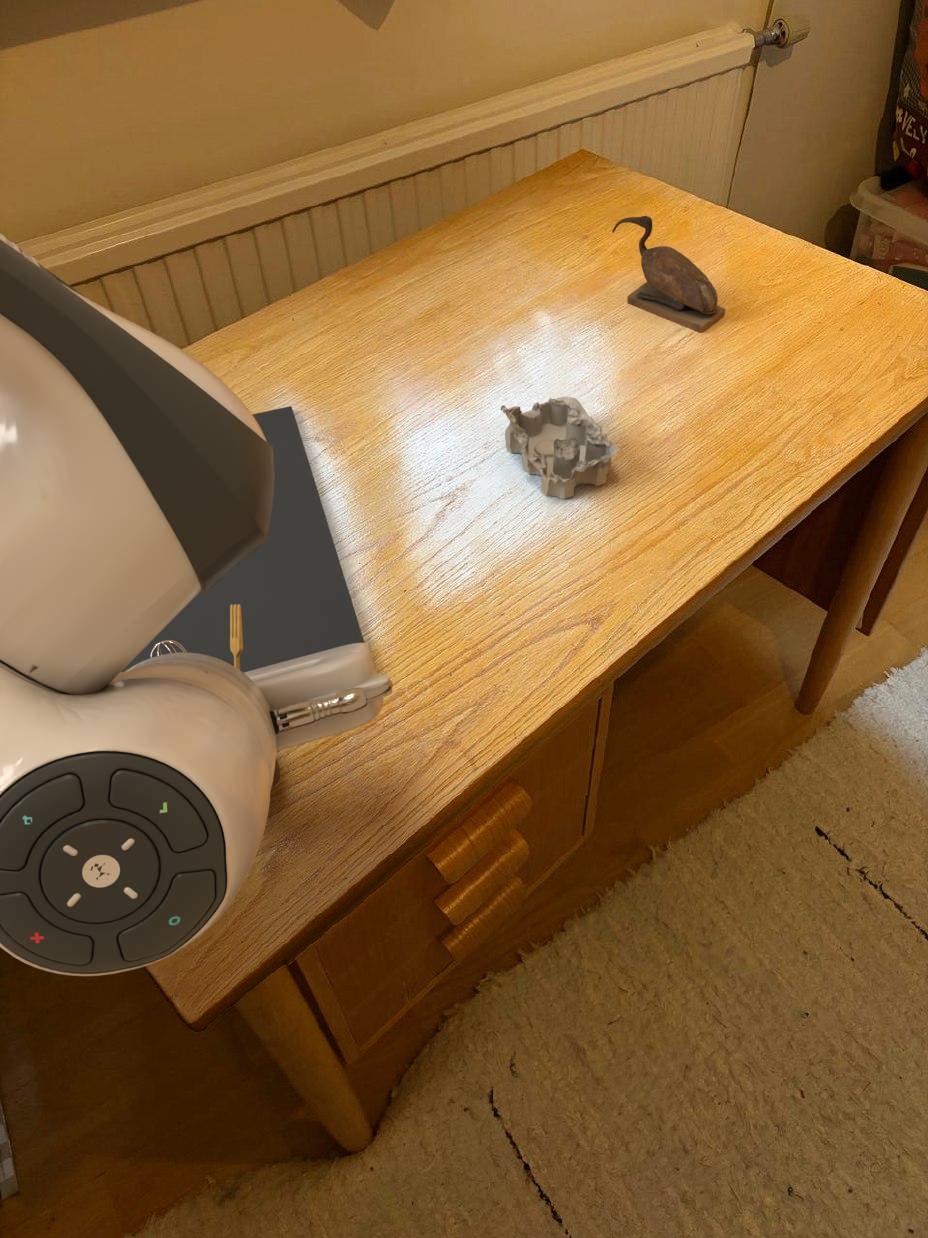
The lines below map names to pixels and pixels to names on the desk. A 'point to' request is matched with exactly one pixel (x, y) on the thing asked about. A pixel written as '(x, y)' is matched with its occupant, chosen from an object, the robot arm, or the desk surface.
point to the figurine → (673, 285)
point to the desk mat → (274, 577)
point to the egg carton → (560, 445)
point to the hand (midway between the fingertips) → (211, 702)
